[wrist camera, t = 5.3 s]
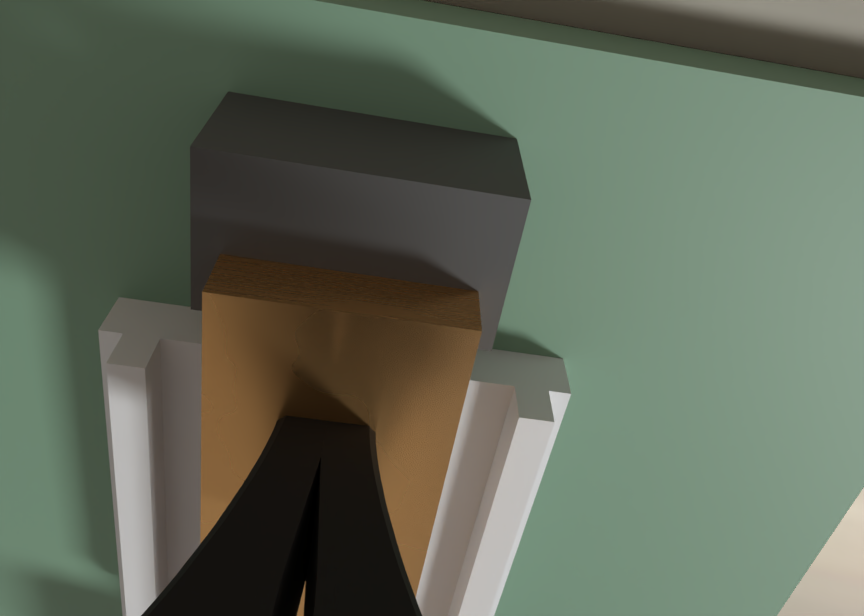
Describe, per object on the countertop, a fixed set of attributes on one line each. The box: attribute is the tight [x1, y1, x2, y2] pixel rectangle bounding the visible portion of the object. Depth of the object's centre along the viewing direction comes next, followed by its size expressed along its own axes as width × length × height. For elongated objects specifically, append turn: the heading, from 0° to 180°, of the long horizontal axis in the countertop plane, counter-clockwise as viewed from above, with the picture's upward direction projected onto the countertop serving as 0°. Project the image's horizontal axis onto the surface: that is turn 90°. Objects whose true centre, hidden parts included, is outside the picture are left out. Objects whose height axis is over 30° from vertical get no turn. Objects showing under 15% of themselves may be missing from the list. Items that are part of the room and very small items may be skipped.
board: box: [0, 0, 864, 616], centre depth 15 cm, size 18×22×5 cm
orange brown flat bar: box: [200, 254, 482, 616], centre depth 14 cm, size 14×4×1 cm, turn 170°
